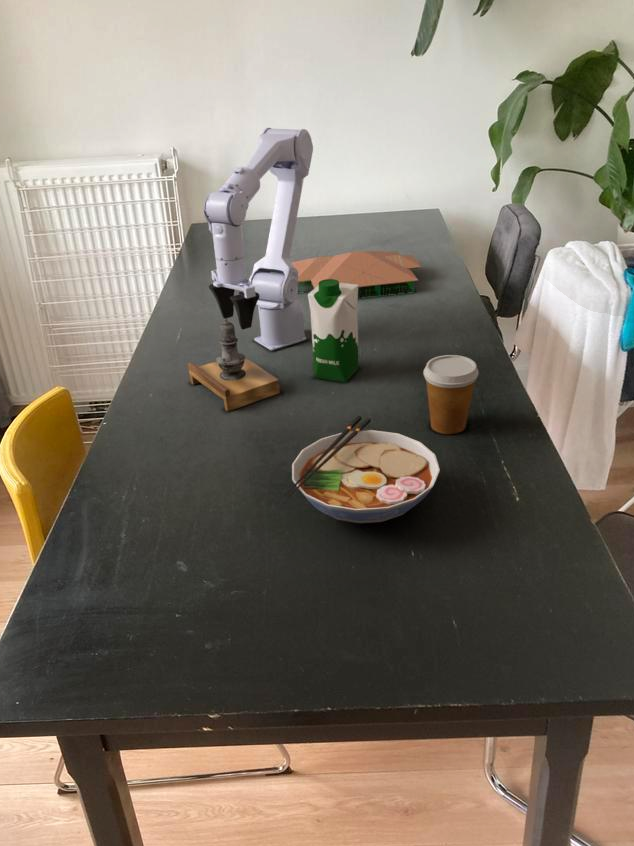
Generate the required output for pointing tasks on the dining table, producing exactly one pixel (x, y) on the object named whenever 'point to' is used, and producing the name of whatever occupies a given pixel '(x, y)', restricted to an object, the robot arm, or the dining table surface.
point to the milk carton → (334, 329)
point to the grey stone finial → (230, 354)
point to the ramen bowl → (365, 474)
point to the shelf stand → (236, 383)
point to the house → (360, 269)
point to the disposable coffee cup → (450, 391)
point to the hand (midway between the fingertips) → (237, 322)
